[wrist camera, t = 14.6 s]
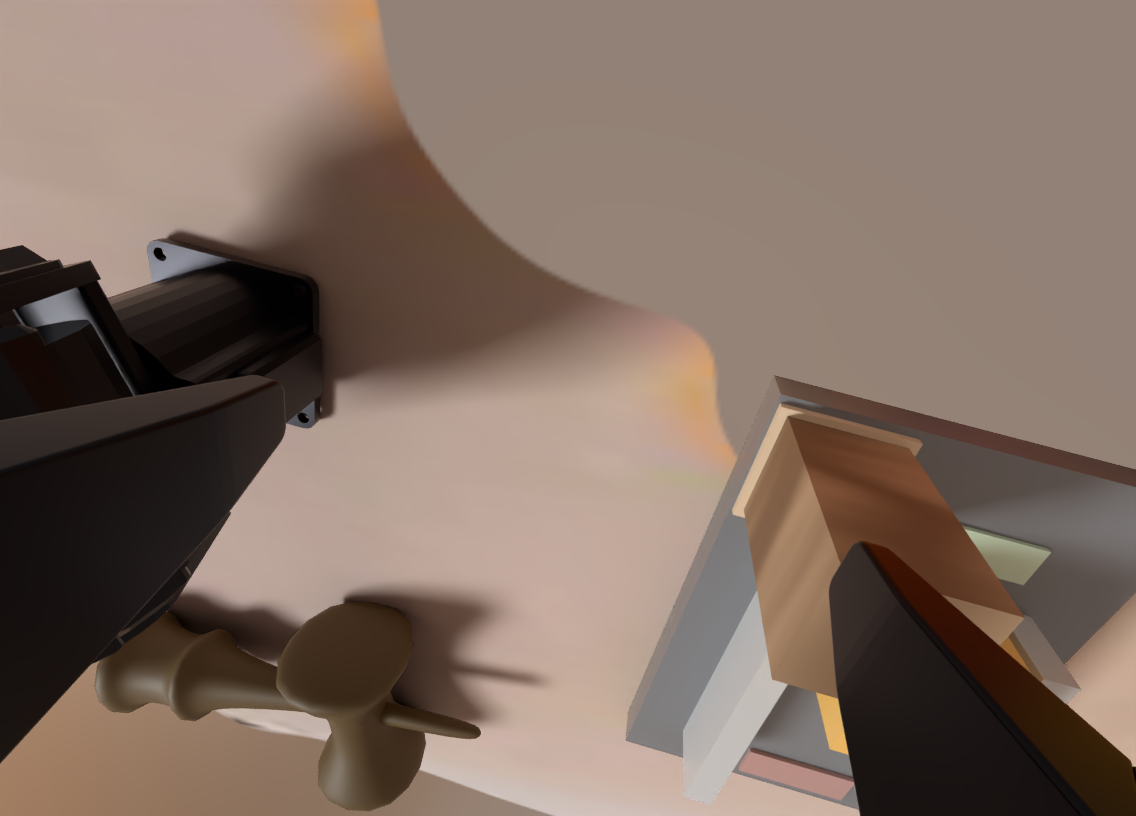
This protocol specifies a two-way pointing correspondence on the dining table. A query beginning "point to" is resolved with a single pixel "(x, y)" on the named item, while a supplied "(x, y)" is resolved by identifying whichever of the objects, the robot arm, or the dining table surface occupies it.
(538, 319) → the dining table surface
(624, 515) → the dining table surface
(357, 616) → the kendama
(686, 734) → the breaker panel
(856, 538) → the walnut block
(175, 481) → the robot arm
